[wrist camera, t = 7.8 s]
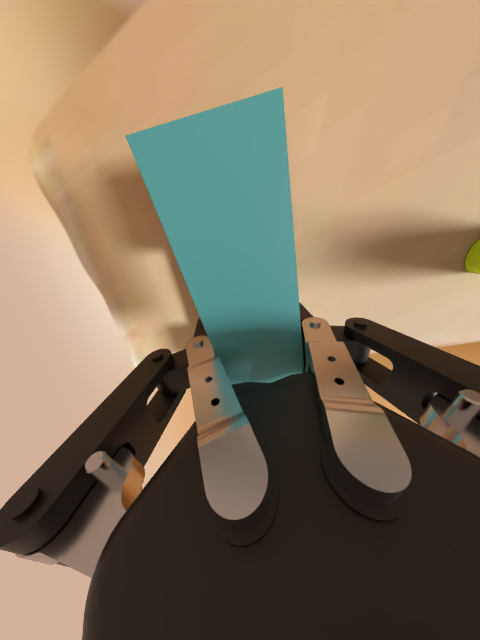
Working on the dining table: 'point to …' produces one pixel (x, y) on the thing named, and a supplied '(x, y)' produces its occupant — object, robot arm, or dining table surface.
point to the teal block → (231, 228)
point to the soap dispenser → (473, 259)
